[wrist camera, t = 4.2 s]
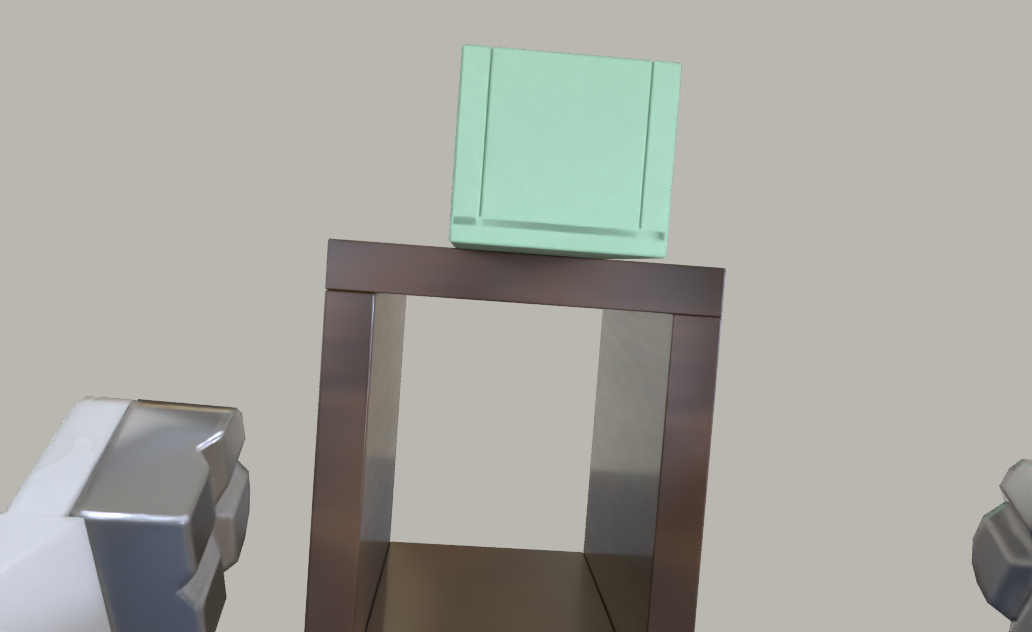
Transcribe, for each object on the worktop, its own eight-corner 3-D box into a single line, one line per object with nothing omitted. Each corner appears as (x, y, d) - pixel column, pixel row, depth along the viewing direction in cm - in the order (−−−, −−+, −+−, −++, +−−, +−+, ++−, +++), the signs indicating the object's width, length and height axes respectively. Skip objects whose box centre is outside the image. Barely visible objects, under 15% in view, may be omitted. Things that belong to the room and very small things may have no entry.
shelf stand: (594, 811, 43) (638, 265, 41) (655, 1078, 29) (726, 268, 27) (340, 801, 42) (376, 246, 40) (276, 1071, 28) (328, 238, 26)
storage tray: (558, 259, 40) (565, 170, 40) (666, 258, 18) (683, 62, 18) (459, 252, 40) (465, 162, 40) (448, 242, 18) (462, 42, 18)
